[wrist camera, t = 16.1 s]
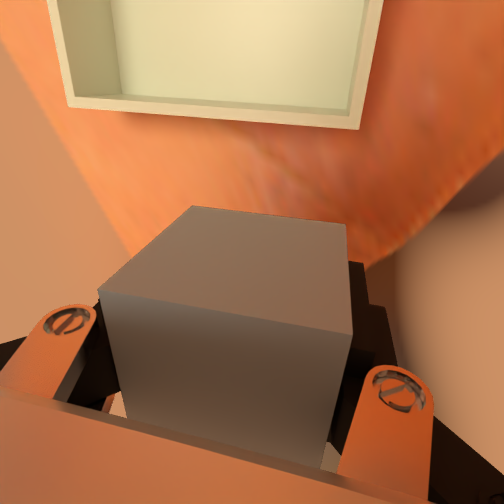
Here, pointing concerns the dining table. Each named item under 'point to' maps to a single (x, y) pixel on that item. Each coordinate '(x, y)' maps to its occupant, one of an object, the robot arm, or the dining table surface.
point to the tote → (219, 57)
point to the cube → (235, 330)
